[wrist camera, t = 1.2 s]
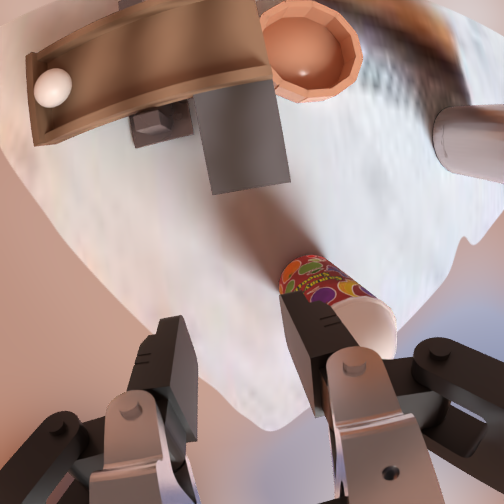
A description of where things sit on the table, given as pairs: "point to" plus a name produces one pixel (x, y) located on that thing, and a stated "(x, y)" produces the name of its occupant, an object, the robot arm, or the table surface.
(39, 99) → the ball
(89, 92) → the lever
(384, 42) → the table surface
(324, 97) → the orange bowl
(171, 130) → the stand
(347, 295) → the smoothie
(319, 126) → the table surface
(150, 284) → the table surface
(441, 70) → the table surface
